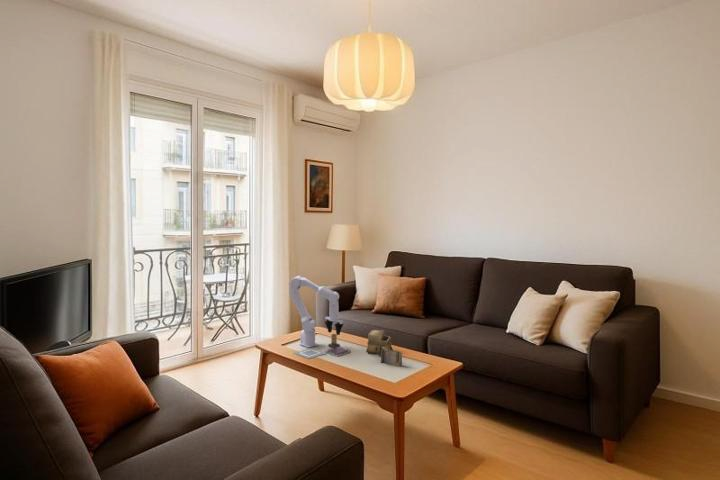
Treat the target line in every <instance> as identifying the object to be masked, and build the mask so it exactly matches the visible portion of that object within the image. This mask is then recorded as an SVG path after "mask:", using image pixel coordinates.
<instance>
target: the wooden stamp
mask: <svg viewBox="0 0 720 480" xmlns="http://www.w3.org/2000/svg"><path fill="white" fill-rule="evenodd" d="M330 336H331V343H328V345H327V346H328V348H330V349H332V348H336V347H341V345H340V344H341V343H337V342H338V341H337V340H338V338H337V336H338V335H337V334H336V333H331V335H330Z"/></svg>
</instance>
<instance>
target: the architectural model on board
mask: <svg viewBox="0 0 720 480" xmlns="http://www.w3.org/2000/svg"><path fill="white" fill-rule="evenodd" d="M382 348H384V349H382V350H381V356H380V363H384V364H386V365H392V366H397V367H401V366H402V365H403V360H402V359H403V351H399V350H395V349H394V350H389V349H386V347H382Z"/></svg>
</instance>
